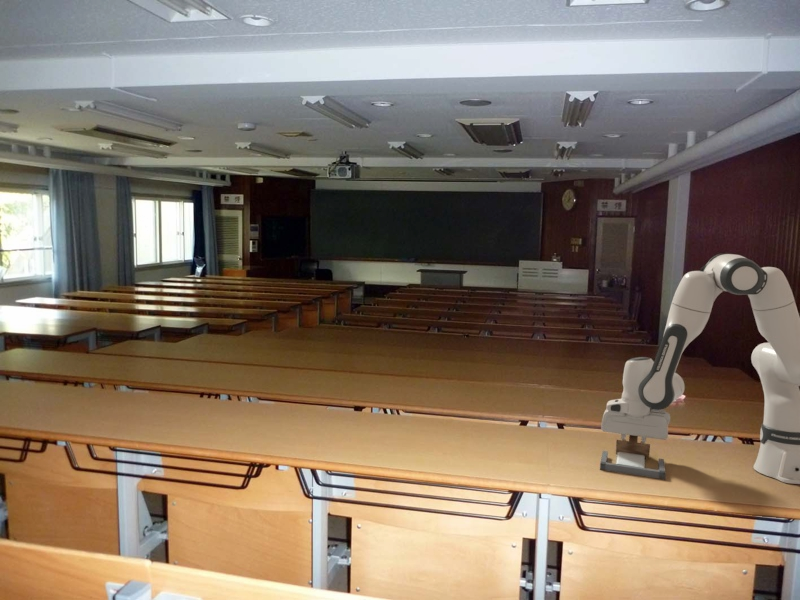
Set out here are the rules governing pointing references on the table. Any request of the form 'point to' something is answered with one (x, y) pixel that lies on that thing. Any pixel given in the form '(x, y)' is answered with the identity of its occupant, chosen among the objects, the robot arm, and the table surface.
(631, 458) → the hard drive
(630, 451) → the pusher
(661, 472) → the bay
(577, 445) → the table surface
